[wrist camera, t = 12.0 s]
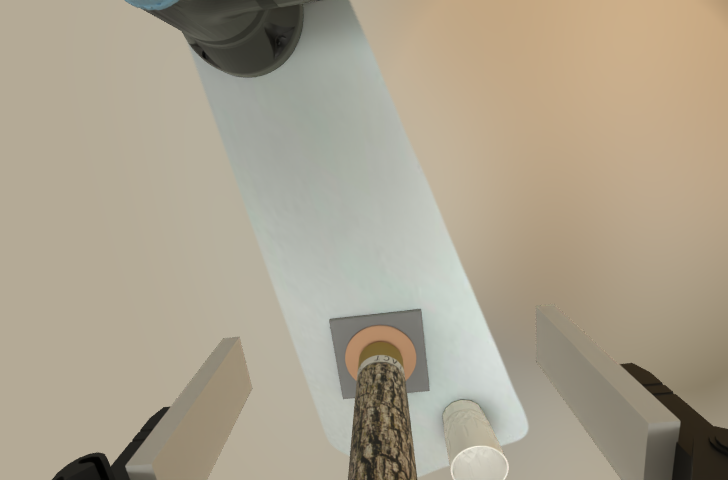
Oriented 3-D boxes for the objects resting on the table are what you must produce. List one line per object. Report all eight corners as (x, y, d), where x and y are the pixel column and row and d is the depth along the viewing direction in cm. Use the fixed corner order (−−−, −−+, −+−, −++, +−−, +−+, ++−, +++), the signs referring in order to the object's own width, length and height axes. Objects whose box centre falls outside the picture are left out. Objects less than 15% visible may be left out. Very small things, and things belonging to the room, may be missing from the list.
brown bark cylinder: (383, 386, 57) (387, 563, 33) (349, 361, 56) (328, 524, 32) (411, 357, 55) (438, 521, 31) (378, 331, 54) (378, 478, 30)
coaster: (329, 319, 56) (328, 322, 54) (420, 309, 55) (421, 312, 53) (343, 396, 59) (342, 401, 58) (429, 388, 58) (430, 393, 57)
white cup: (478, 390, 58) (499, 439, 48) (493, 428, 60) (515, 483, 50) (432, 404, 59) (442, 455, 49) (447, 442, 61) (461, 498, 51)
